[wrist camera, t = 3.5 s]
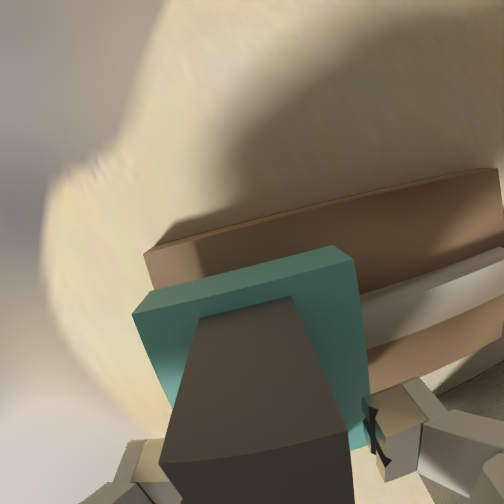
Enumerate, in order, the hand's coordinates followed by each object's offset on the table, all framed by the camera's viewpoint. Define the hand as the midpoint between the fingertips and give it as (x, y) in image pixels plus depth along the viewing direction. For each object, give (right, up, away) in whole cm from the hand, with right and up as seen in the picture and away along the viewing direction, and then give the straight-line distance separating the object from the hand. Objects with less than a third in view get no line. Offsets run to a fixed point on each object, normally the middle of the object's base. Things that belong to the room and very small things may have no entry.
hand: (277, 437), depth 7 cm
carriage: (0, +1, +5) cm, 5 cm away
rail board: (+4, +3, +7) cm, 8 cm away
